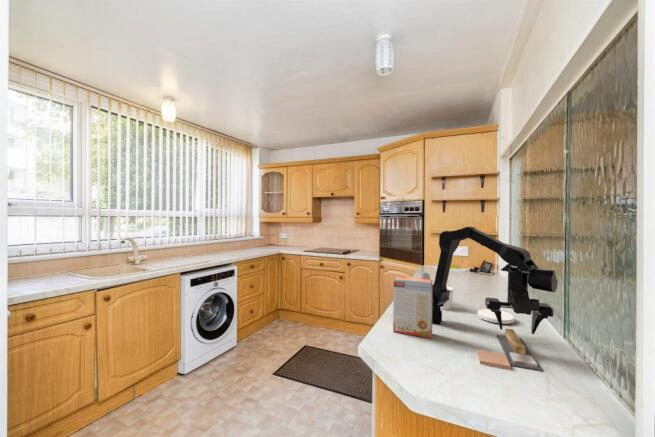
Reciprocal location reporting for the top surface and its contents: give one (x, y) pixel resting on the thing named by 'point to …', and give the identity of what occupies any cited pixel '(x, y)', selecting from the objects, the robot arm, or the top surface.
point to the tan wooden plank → (518, 349)
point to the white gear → (491, 316)
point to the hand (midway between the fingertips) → (516, 331)
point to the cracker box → (412, 306)
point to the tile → (493, 359)
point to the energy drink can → (424, 275)
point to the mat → (508, 349)
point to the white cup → (449, 302)
